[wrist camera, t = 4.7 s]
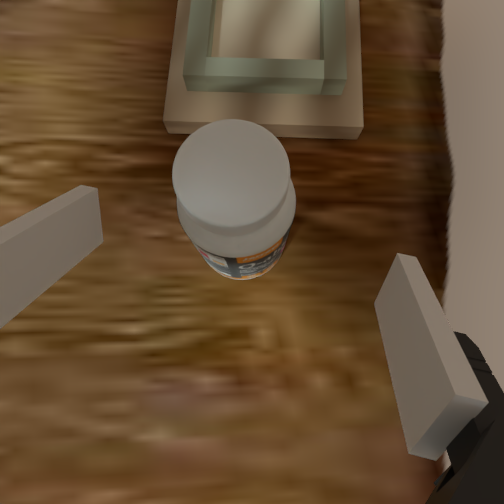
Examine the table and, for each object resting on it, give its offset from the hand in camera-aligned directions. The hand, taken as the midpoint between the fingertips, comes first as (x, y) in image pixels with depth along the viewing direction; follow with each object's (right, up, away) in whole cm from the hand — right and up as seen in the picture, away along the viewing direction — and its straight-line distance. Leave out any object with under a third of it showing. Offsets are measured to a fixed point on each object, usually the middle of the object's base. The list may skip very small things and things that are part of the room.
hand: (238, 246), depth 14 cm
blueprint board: (+2, +21, +13) cm, 25 cm away
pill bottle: (0, +1, +8) cm, 8 cm away
